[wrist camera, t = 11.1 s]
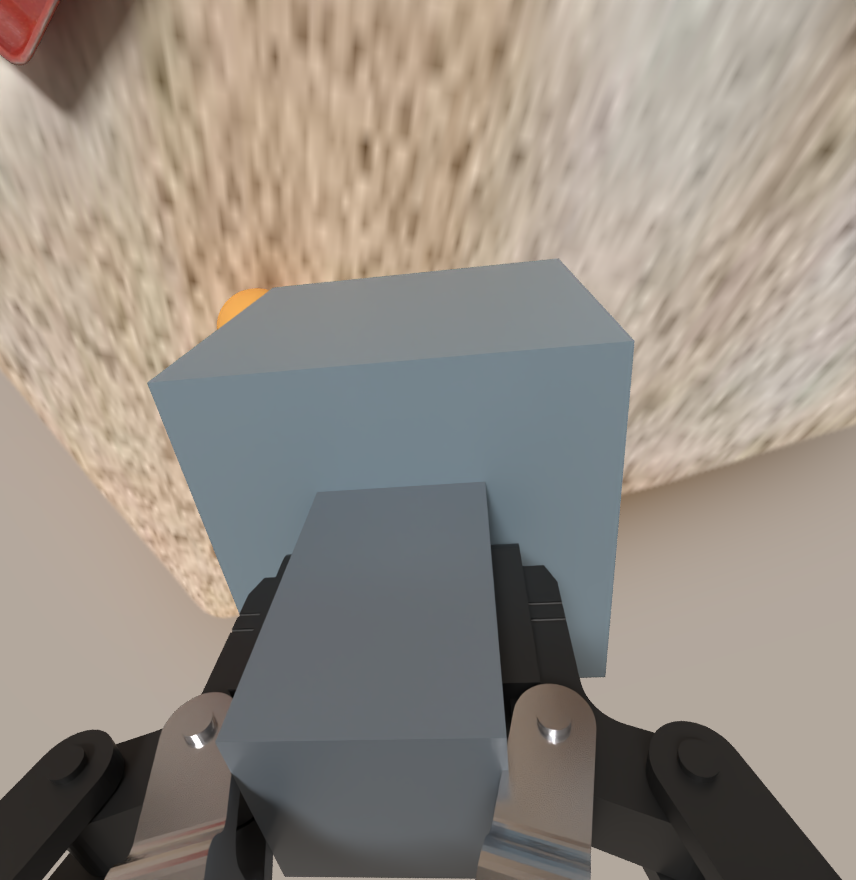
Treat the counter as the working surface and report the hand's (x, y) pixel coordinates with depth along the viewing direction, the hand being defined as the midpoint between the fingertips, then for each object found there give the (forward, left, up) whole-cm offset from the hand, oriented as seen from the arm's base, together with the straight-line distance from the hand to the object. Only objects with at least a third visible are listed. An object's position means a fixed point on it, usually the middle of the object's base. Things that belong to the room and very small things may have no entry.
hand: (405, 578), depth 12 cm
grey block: (0, 0, -10) cm, 10 cm away
